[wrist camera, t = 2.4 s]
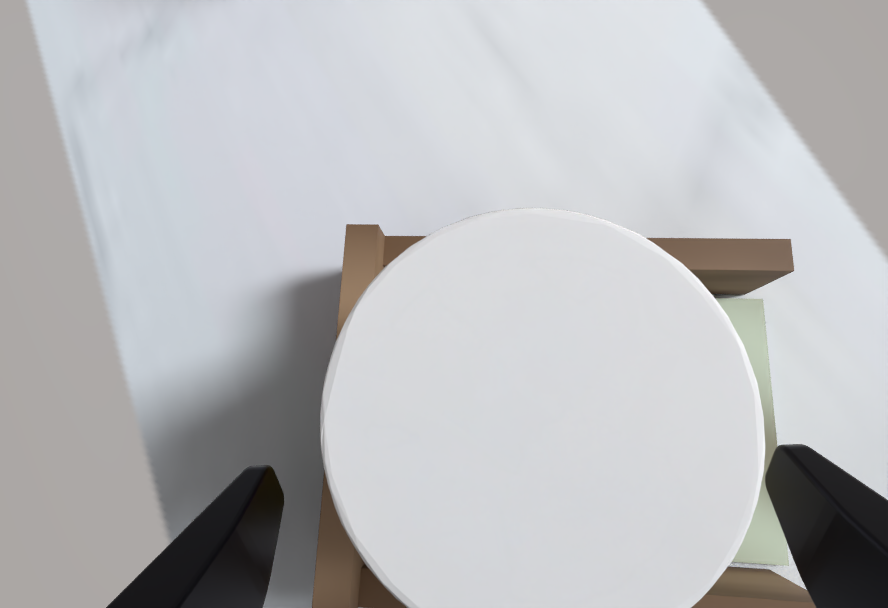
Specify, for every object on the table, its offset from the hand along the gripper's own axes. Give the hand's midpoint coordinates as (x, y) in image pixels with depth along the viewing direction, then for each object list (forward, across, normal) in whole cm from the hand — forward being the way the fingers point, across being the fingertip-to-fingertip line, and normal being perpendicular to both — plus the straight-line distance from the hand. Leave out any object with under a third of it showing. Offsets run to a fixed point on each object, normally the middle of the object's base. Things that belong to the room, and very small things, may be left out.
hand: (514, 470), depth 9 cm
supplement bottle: (+7, 0, +6) cm, 9 cm away
